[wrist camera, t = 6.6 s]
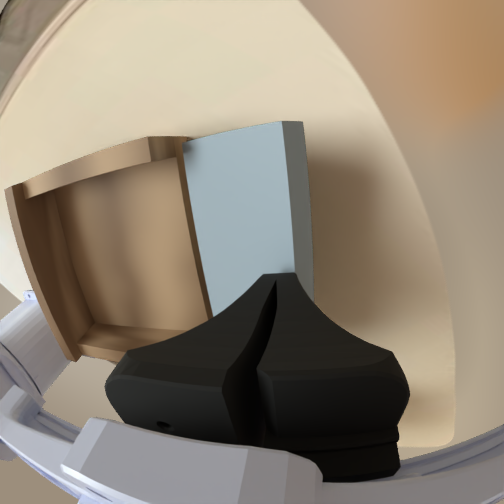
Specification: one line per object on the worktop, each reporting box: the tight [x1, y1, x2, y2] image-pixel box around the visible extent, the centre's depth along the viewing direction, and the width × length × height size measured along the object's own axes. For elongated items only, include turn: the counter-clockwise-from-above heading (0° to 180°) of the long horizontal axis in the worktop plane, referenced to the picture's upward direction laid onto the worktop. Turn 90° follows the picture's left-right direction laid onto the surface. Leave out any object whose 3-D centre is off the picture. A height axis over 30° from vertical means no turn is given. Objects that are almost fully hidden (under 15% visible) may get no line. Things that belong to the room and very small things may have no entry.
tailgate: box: [182, 121, 314, 317], centre depth 14 cm, size 2×13×7 cm
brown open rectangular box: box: [5, 136, 213, 362], centre depth 17 cm, size 12×14×6 cm
